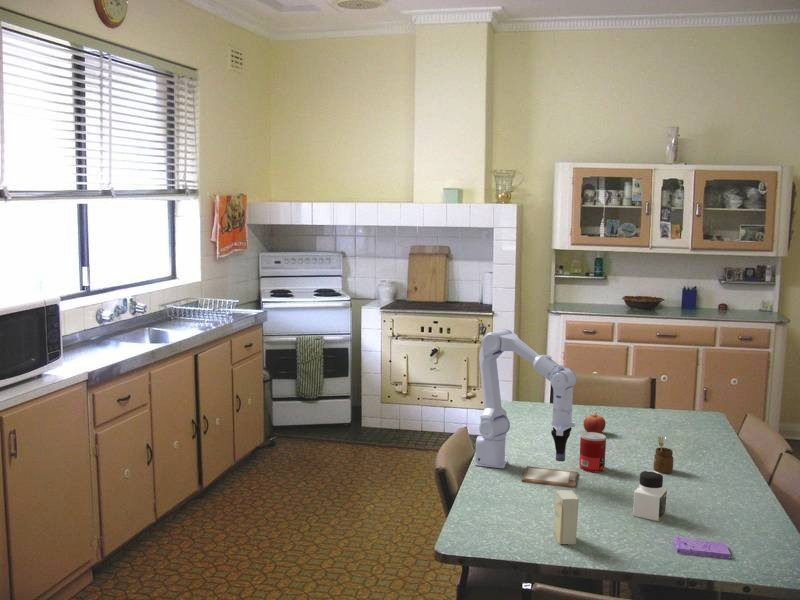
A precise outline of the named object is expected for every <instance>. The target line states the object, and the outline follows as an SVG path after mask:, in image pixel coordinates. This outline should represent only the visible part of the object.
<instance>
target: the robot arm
mask: <svg viewBox="0 0 800 600" xmlns="http://www.w3.org/2000/svg"><path fill="white" fill-rule="evenodd" d="M480 341H481V346H480V349H479V350H480V351H479V354H478V359H479V367H480V368H479V369H480V379H481V387H482V388H481V389H482V396H483V397H482V398H483V407H484V410H483V411H482V412H481V414H480V423H479V426H478V431H479V433H480V435H477V437H476V440H475V441H476V442H475V457H474V458H475V460H474V466H477V467H486V468H487V467H488V468H496V469H505V467H506V465H507V463H508V459H506V436H507V433H508V432H509V431H510V429H511V422H510V419H509V418H508V416H507V415H508V414H507V410H506V409H504V408H503V407H502V399H501V391H500V390H501V389H500V383H499V382H500V381H499V379H500V378H499V373H498V372H499V371H498V362H497V360H498V358H499V357H500V356H501V355H502V354H503V353H504V352H513V353H515V354H517V355H518V356H520V357H521V358H523V359H525V360H526V361H528V362H529V363H531V364H532V365H533V370H534V371H535V372H536V373H538V374H539V375H541V376H543V377H544V378H545V379H547V380H548V381H549V383H550V385H551V388H552V389H553V397H552V398H553V399H552V400H553V401H552V418H551V420H552V421H551V426H552V429H551V432H550V435H551V436H552V439H553V441H554V446H555V447H554V448H555V454H556V453H557V454H562V455H563V454H564V451H565V452H566V450H565V446H566V447H567V442H568V439H569V437H570V436H571V431H572V428H576V423H574V422H572V419H573V418H572V417H573V399H574V397H573V396H574V395H573V394H574V386H576V384H577V380H578V377H577V374H576V372H575V371H574V370H573V369H572V368H569V367H564V365H562V364H559V363H558V362H557V361H555V360H553V359H552V356H551V355H549V354H548V355H547V354H541V355H540V354H539V353H538V352H536V351H535V350H534V349H532V348H531V347H530V345H527V344H526V343H525V342H524V341H523V340H522V339H520V338H519V336H518V334H516V333H515V332H512V330H510V329H508V328H504V329H501V330H497V331H491V332H488V333H486V334H484V336H482V338H481V340H480Z"/></svg>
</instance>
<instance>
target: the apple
mask: <svg viewBox="0 0 800 600" xmlns="http://www.w3.org/2000/svg"><path fill="white" fill-rule="evenodd" d="M606 426H607V425H606V420H605V418H604V417H603V416H601V415H599V414H597V412H595V413H593V414H589V415H587V416H585V418H584V419H583V428H584V430H585V432H595V433H600V434H603V432H604V430H605V429H606Z"/></svg>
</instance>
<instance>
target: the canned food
mask: <svg viewBox="0 0 800 600" xmlns="http://www.w3.org/2000/svg"><path fill="white" fill-rule="evenodd" d="M579 441H580V442H579V463H578V464H579V465H578V466H579V467H580V469H581V470H582V469H583V471H585V472H588V471H589V473H600V472H604V469H605V467H606V466H605V465H606V449H607V448H606V446H607V436H606V435H605V434H603V433H595V432H586V431H585V432H582V433H580V439H579Z"/></svg>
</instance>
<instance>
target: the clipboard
mask: <svg viewBox="0 0 800 600" xmlns="http://www.w3.org/2000/svg"><path fill="white" fill-rule="evenodd" d="M578 475H579V472H578V471H575V470H564V469H555V468H547V467H546V468H545V467H536V466H528V465H527V466H526V468H525V471H524V473H523V476H522V478H521V482H523V483H529V482H530V483H529V484H531V483H532V484H540V485H546V486H547V485H549V486H556V485H558V486H557V487H564V486H567V487H566V488H573V487H574V488H576V485H577V478H578Z"/></svg>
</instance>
